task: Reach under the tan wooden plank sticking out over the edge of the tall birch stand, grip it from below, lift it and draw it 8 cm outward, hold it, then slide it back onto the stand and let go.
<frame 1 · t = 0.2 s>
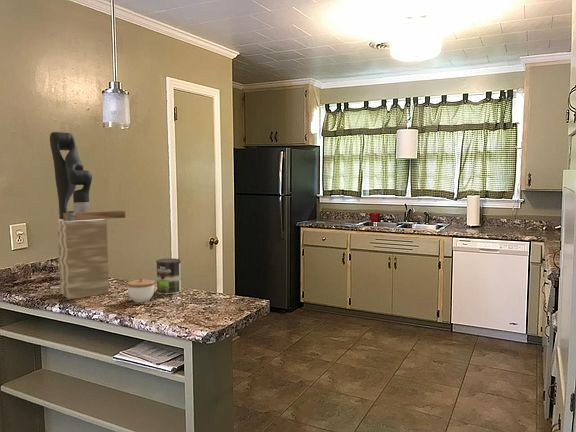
hand: (83, 245, 227), 17 cm above the countertop, tool pointing down, fingers open, 8 cm apart
tan wooden plank: (95, 218, 204), point 32 cm above the countertop, touching stand
stand: (84, 293, 203), on the countertop
lidded jar: (141, 301, 191), on the countertop
coffee can: (169, 292, 205), on the countertop
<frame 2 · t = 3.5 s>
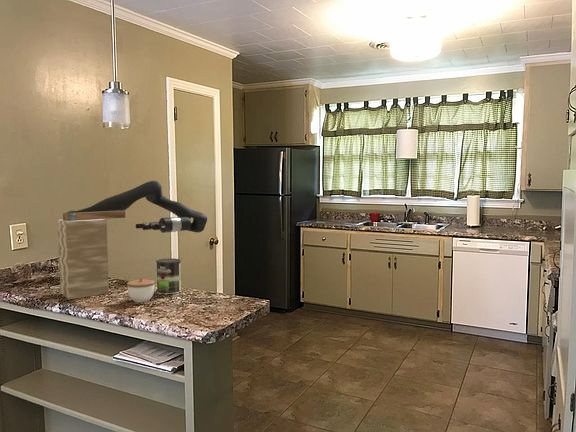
hand: (139, 227, 227), 26 cm above the countertop, tool horizontal, fingers open, 8 cm apart
nothing on the countertop moved.
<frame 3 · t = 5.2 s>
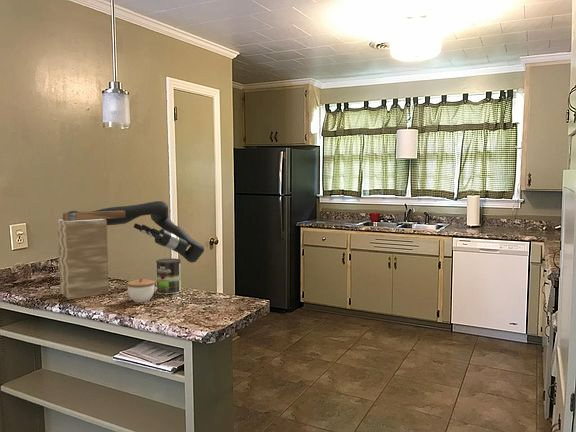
hand: (138, 225, 217), 28 cm above the countertop, tool pointing upward, fingers open, 8 cm apart
nothing on the countertop moved.
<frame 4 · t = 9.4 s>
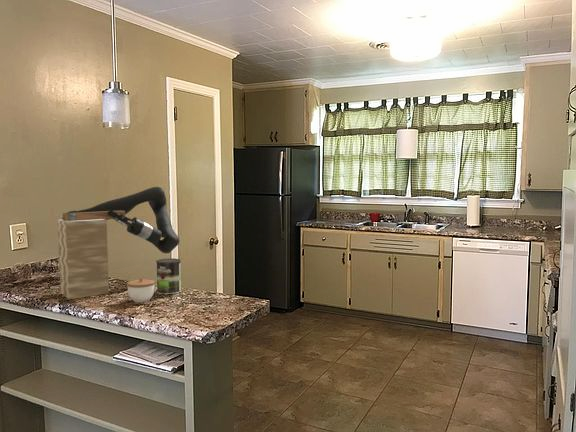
hand: (107, 211, 207), 35 cm above the countertop, tool pointing upward, fingers closed on tan wooden plank, 4 cm apart
tan wooden plank: (95, 218, 204), point 32 cm above the countertop, touching gripper, stand
everything else where it was.
when the fingers open (36 cm above the countertop, at t = 16.4 s): tan wooden plank stays where it is, resting on stand.
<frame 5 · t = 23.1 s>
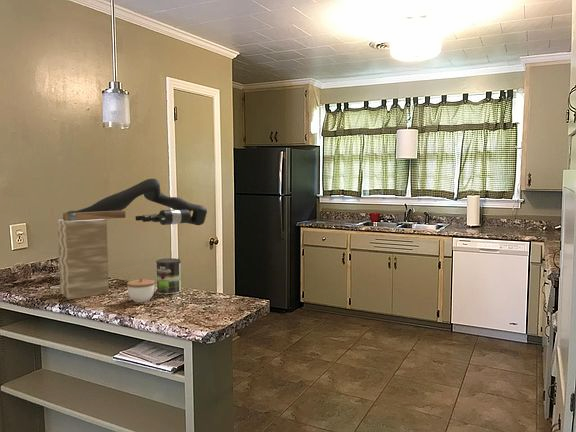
hand: (139, 219, 227), 30 cm above the countertop, tool horizontal, fingers open, 8 cm apart
tan wooden plank: (95, 218, 204), point 32 cm above the countertop, touching stand
everything else where it was.
at the end: tan wooden plank inside the target area (0.1 cm from its centre), point 32.0 cm above the countertop; tan wooden plank tilted 0°; the gripper is holding nothing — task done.
